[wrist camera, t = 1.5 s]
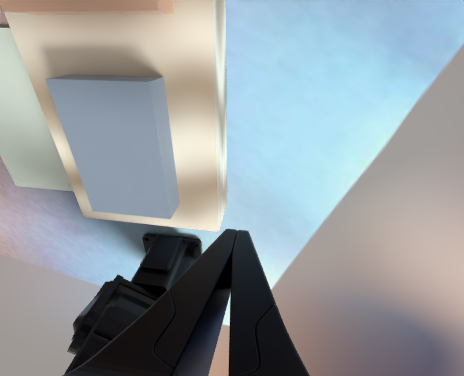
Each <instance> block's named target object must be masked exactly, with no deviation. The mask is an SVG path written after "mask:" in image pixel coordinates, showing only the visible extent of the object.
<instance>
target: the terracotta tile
mask: <svg viewBox="0 0 464 376" xmlns="http://www.w3.org/2000/svg"><path fill="white" fill-rule="evenodd" d="M0 6H1V8H2V11H3V12H9V13H20V14H30V15H121V14H174V8H173V0H0Z"/></svg>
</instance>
